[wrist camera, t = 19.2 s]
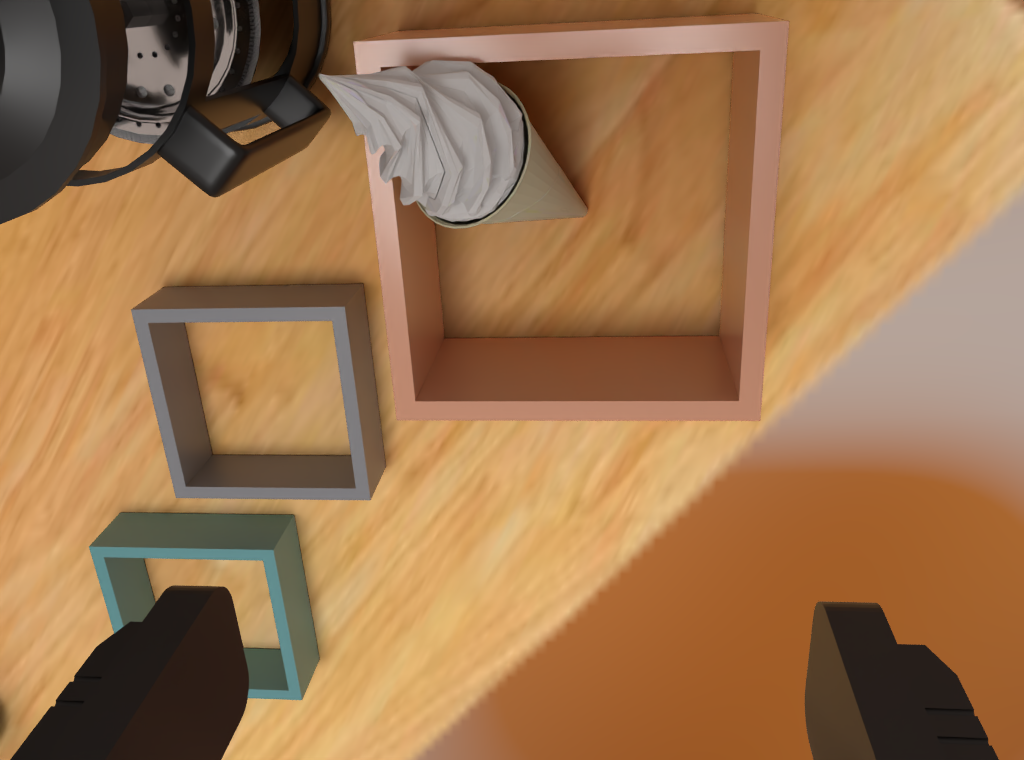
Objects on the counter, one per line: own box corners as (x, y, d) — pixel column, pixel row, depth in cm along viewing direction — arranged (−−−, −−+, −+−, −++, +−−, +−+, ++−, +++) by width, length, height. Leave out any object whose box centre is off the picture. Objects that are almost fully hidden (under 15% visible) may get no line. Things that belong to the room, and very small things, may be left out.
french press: (42, 6, 35) (-777, 47, 14) (161, -207, 32) (-692, -558, 11) (278, 204, 38) (-132, 483, 17) (413, 26, 34) (106, 100, 13)
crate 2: (120, 512, 45) (88, 546, 43) (294, 514, 44) (273, 549, 42) (158, 653, 49) (132, 693, 46) (319, 659, 48) (302, 700, 45)
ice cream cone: (660, 222, 34) (414, 84, 22) (561, 296, 37) (286, 208, 24) (604, 125, 36) (345, -55, 24) (512, 200, 38) (231, 72, 26)
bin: (397, 31, 34) (353, 42, 28) (757, 13, 33) (789, 21, 27) (428, 354, 40) (396, 420, 34) (737, 352, 38) (760, 420, 32)
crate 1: (163, 287, 40) (131, 309, 37) (363, 283, 39) (344, 306, 36) (203, 465, 44) (175, 497, 41) (386, 467, 43) (370, 500, 40)
